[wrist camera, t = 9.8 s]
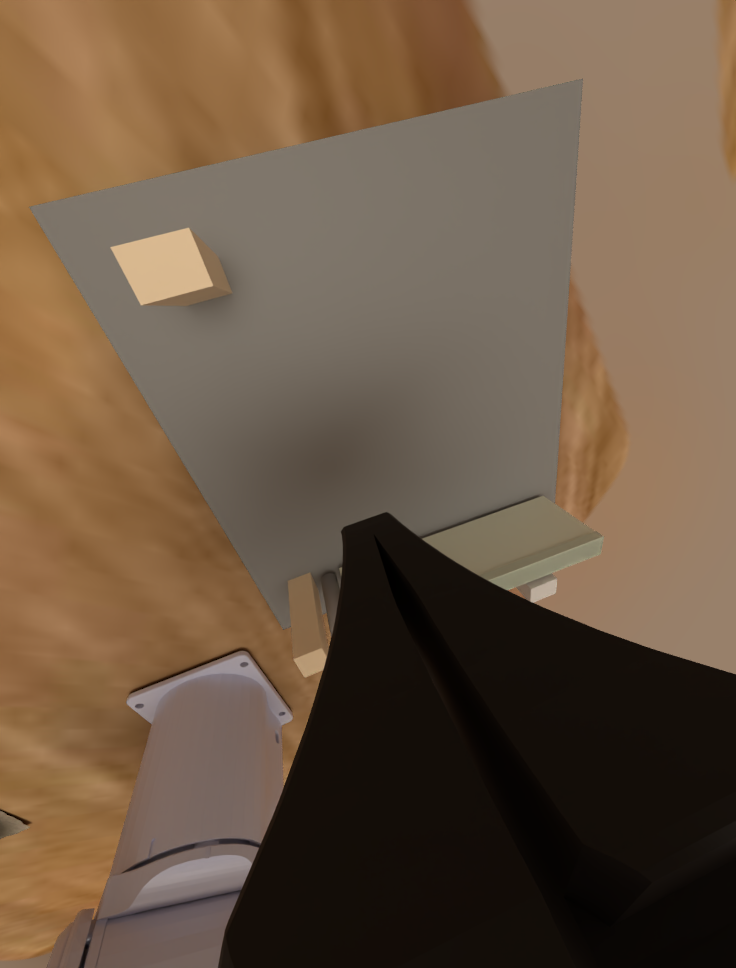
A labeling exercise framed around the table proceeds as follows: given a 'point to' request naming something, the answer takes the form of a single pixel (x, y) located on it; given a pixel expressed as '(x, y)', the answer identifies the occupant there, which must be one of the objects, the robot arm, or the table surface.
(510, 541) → the gate
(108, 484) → the table surface
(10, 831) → the condiment
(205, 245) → the grey square baseplate
